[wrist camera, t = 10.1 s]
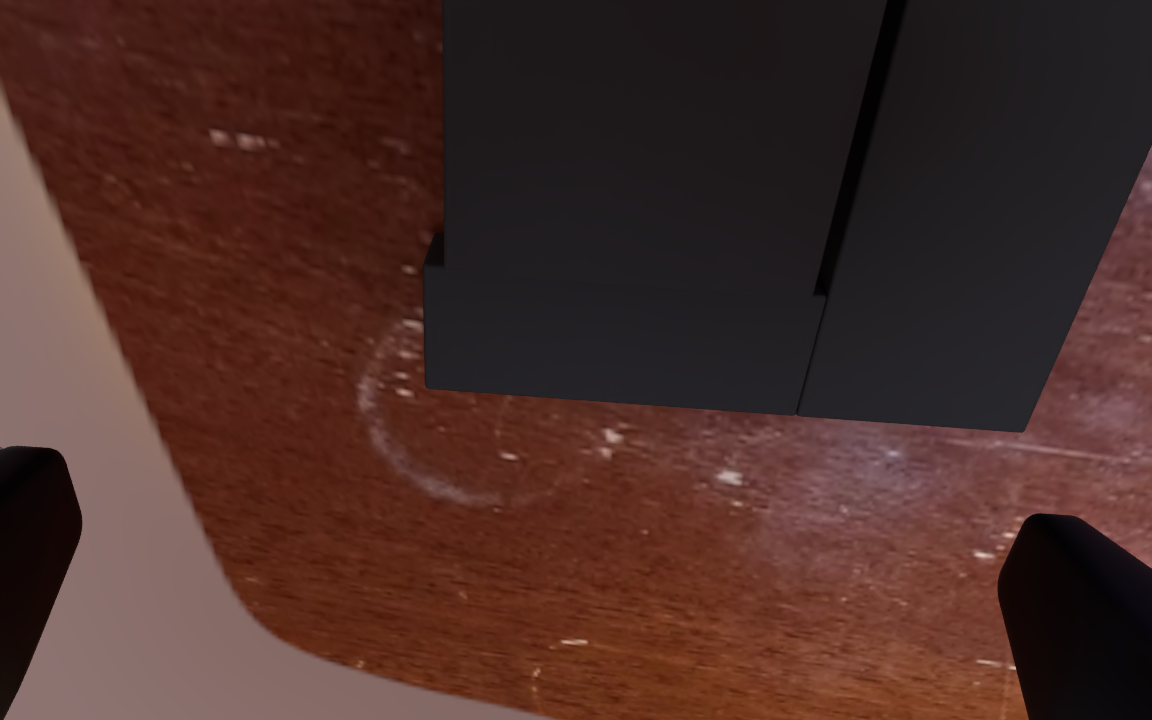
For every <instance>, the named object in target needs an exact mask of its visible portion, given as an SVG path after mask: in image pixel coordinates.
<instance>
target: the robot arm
mask: <svg viewBox="0 0 1152 720" xmlns="http://www.w3.org/2000/svg"><path fill="white" fill-rule="evenodd" d="M81 531H82V515H81V510H80V507H79V503H78V500H77V497H76V494H75V491H74V487H73V484H72V481H71V478H70V474H69V471H68V468H67V464H66V462H65V459H64V457H63V456H62V455H61V454H60V453H59V452H58V451H57V450H54V449H51V448H42V447H26V446H11V447H7V448H5V449H2V450H0V720H4V718H5V716H6V714H7V712H8V710H9V707H10V706H11V704H12V702H13V699H14V698H15V696H16V694H17V692H18V690H19V688H20V685H21V683H22V681H23V678H24V676H25V674H26V672H27V669H28V667H29V665H30V662H31V660H32V657H33V655H34V652H35V650H36V647H37V645H38V642H39V640H40V638H41V635H42V632H43V630H44V627H45V625H46V622H47V620H48V618H49V615H50V612H51V610H52V607H53V605H54V602H55V600H56V598H57V595H58V593H59V590H60V587H61V585H62V583H63V580H64V578H65V575H66V573H67V570H68V568H69V565H70V563H71V560H72V558H73V555H74V553H75V550H76V548H77V545H78V543H79V540H80V536H81ZM998 598H999V603H1000V607H1001V611H1002V615H1003V619H1004V623H1005V627H1006V631H1007V635H1008V639H1009V643H1010V647H1011V650H1012V654H1013V658H1014V662H1015V666H1016V670H1017V674H1018V678H1019V682H1020V686H1021V690H1022V694H1023V698H1024V702H1025V706H1026V710H1027V714H1028V718H1029V720H1152V569H1151V568H1150V567H1148V566H1147V565H1146V564H1144V563H1143V562H1141V561H1140V560H1139V559H1137V558H1136V557H1134V556H1133V555H1131V554H1130V553H1129V552H1127V551H1126V550H1124V549H1123V548H1122V547H1120V546H1119V545H1117V544H1116V543H1115V542H1113V541H1112V540H1110V539H1109V538H1107V537H1106V536H1105V535H1103V534H1102V533H1100V532H1099V531H1098V530H1096V529H1095V528H1093V527H1092V526H1091V525H1089V524H1088V523H1086V522H1085V521H1083V520H1082V519H1080V518H1078V517H1075V516H1070V515H1057V514H1041V513H1039V514H1034V515H1031V516H1030V517H1028V518H1027V519H1026V520H1025V521H1024V523H1023V525H1022V527H1021V529H1020V531H1019V533H1018V535H1017V537H1016V539H1015V542H1014V544H1013V546H1012V548H1011V550H1010V552H1009V554H1008V556H1007V558H1006V561H1005V563H1004V565H1003V567H1002V569H1001V571H1000V574H999V579H998Z"/></svg>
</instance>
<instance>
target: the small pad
mask: <svg viewBox="0 0 1152 720" xmlns="http://www.w3.org/2000/svg"><path fill="white" fill-rule="evenodd" d="M886 4H887V0H442V27H443V162H444V267H445V269H446V271H449V272H462V273H475V274H488V275H501V276H515V277H528V278H541V279H554V280H567V281H580V282H593V283H607V284H620V285H633V286H646V287H659V288H672V289H685V290H699V291H712V292H725V293H738V294H751V295H764V296H777V297H791V298H804V299H810V298H812V296H813V294H814V290H815V286H816V282H817V278H818V274H819V270H820V266H821V262H822V258H823V254H824V250H825V246H826V242H827V238H828V234H829V230H830V226H831V222H832V218H833V214H834V210H835V206H836V202H837V198H838V195H839V191H840V187H841V183H842V179H843V175H844V171H845V167H846V163H847V159H848V155H849V151H850V147H851V143H852V139H853V135H854V131H855V127H856V123H857V119H858V115H859V111H860V107H861V103H862V99H863V95H864V91H865V87H866V83H867V79H868V75H869V71H870V68H871V64H872V60H873V56H874V52H875V48H876V44H877V40H878V36H879V32H880V28H881V24H882V20H883V16H884V12H885V8H886Z"/></svg>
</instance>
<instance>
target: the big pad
mask: <svg viewBox="0 0 1152 720" xmlns="http://www.w3.org/2000/svg"><path fill="white" fill-rule="evenodd" d="M1151 145H1152V0H887V4H886V8H885V12H884V16H883V20H882V24H881V28H880V32H879V36H878V40H877V44H876V48H875V52H874V56H873V60H872V64H871V68H870V71H869V75H868V79H867V83H866V87H865V91H864V95H863V99H862V103H861V107H860V111H859V115H858V119H857V123H856V127H855V131H854V135H853V139H852V143H851V147H850V151H849V155H848V159H847V163H846V167H845V171H844V175H843V179H842V183H841V187H840V191H839V195H838V198H837V202H836V206H835V210H834V214H833V218H832V222H831V226H830V230H829V234H828V238H827V242H826V246H825V250H824V254H823V258H822V262H821V266H820V270H819V274H818V278H817V282H816V286H815V290H814V294H813V296H812V298H810V299H804V298H791V297H777V296H764V295H751V294H738V293H725V292H712V291H699V290H685V289H672V288H659V287H646V286H633V285H620V284H607V283H593V282H580V281H567V280H554V279H541V278H528V277H515V276H501V275H488V274H475V273H462V272H449V271H446V269H445V267H444V234H434V236H433V239H432V242H431V244H430V247H429V250H428V253H427V256H426V259H425V262H424V264H423V308H424V358H425V386H426V388H428V389H438V390H451V391H465V392H478V393H492V394H505V395H519V396H532V397H546V398H560V399H573V400H587V401H600V402H614V403H627V404H641V405H655V406H668V407H682V408H695V409H709V410H722V411H736V412H750V413H763V414H777V415H790V416H793V415H795V414H796V413H797V415H798V416H803V417H817V418H830V419H844V420H857V421H871V422H884V423H898V424H912V425H925V426H939V427H952V428H966V429H979V430H993V431H1007V432H1020V433H1021V432H1024V431H1025V428H1026V426H1027V424H1028V422H1029V419H1030V417H1031V415H1032V413H1033V410H1034V408H1035V406H1036V404H1037V401H1038V399H1039V397H1040V395H1041V392H1042V390H1043V388H1044V386H1045V383H1046V381H1047V379H1048V377H1049V374H1050V372H1051V370H1052V368H1053V365H1054V363H1055V361H1056V359H1057V357H1058V354H1059V352H1060V350H1061V348H1062V345H1063V343H1064V341H1065V339H1066V336H1067V334H1068V332H1069V330H1070V327H1071V325H1072V323H1073V321H1074V318H1075V316H1076V314H1077V312H1078V309H1079V307H1080V305H1081V303H1082V300H1083V298H1084V296H1085V294H1086V291H1087V289H1088V287H1089V285H1090V282H1091V280H1092V278H1093V276H1094V273H1095V271H1096V269H1097V267H1098V264H1099V262H1100V260H1101V258H1102V255H1103V253H1104V251H1105V249H1106V246H1107V244H1108V242H1109V240H1110V237H1111V235H1112V233H1113V231H1114V228H1115V226H1116V224H1117V222H1118V219H1119V217H1120V215H1121V213H1122V210H1123V208H1124V206H1125V204H1126V201H1127V199H1128V197H1129V195H1130V193H1131V190H1132V188H1133V186H1134V184H1135V181H1136V179H1137V177H1138V175H1139V172H1140V170H1141V168H1142V166H1143V163H1144V161H1145V159H1146V157H1147V154H1148V152H1149V150H1150V148H1151Z"/></svg>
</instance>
